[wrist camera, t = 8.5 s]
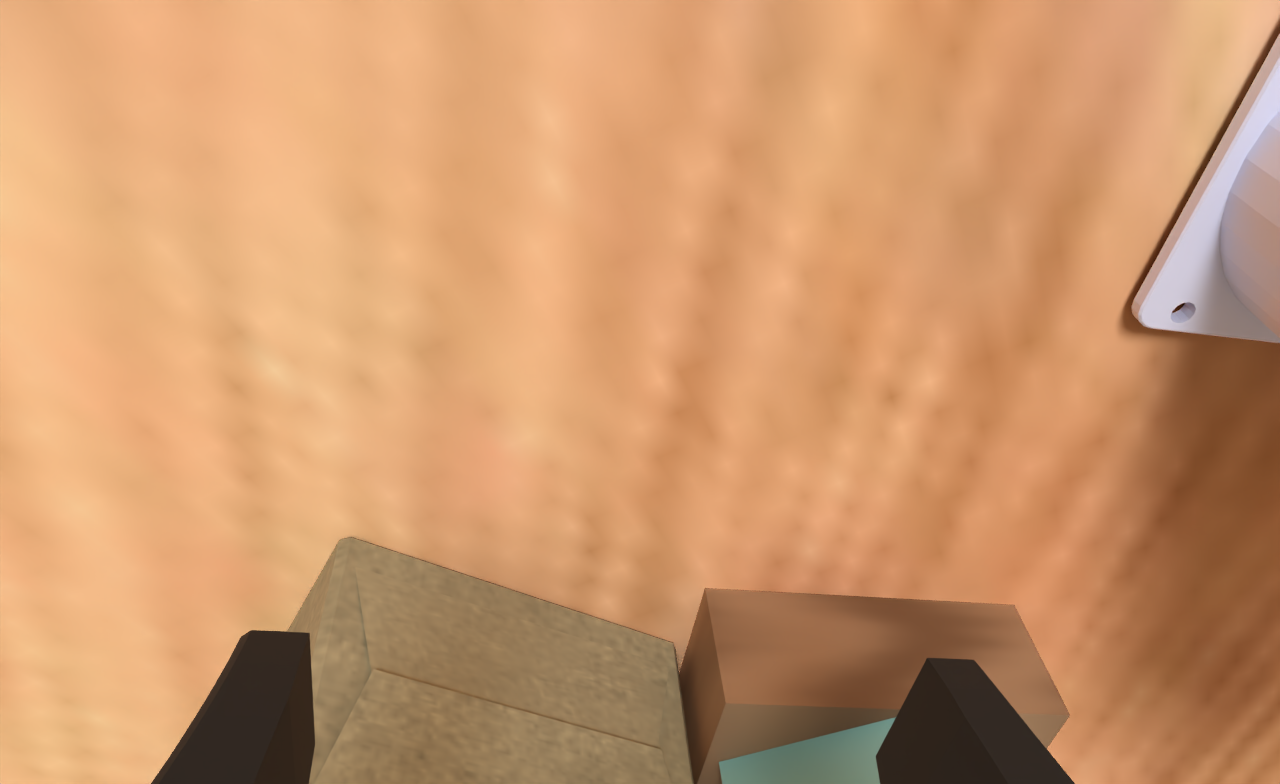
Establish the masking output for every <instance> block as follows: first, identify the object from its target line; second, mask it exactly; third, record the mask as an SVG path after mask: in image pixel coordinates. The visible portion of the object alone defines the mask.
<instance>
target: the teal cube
mask: <svg viewBox="0 0 1280 784" xmlns="http://www.w3.org/2000/svg"><path fill="white" fill-rule="evenodd" d="M895 718H896V717H895ZM895 718H891V719H887V720H883V721H879V722H875V723H871V724H867V725H863V726H859V727H855V728H851V729H847V730H843V731H839V732H836V733H832V734H828V735H824V736H820V737H816V738H812V739H808V740H804V741H800V742H796V743H792V744H788V745H784V746H780V747H776V748H772V749H768V750H764V751H760V752H756V753H752V754H748V755H745V756H741V757H737V758H733V759H729V760H725V761H721V762H719V767H720V773H721V779H722V784H880V780H879V774H878V768H877V762H876V754H877V753H878V751H879V749H880V747H881V745H882V743H883V741H884V739H885V737H886V735H887V733H888V732H889V730H890V728H891V726H892V724H893V722H894V720H895Z"/></svg>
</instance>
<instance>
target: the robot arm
mask: <svg viewBox="0 0 1280 784" xmlns="http://www.w3.org/2000/svg"><path fill="white" fill-rule="evenodd" d="M1182 303H1185V305H1184V306H1183V307H1182V308H1181V309H1180V310H1178V311H1176V312H1174V313H1172V311H1173V310H1174V309H1175V308H1176V307H1177V306H1178V305H1180V304H1182ZM1131 308H1132V314H1133V315H1134V316H1135V317H1136V319H1137V320H1138V321H1139V322H1140V323H1141V324H1142V325H1143V326H1144V327H1147V328H1150V329H1158V330H1167V331H1176V332H1185V333H1194V334H1203V335H1211V336H1220V337H1229V338H1238V339H1247V340H1255V341H1264V342H1273V343H1280V34H1279V35H1278V37H1277V39H1276V41H1275V43H1274V45H1273V46H1272V48H1271V50H1270V52H1269V54H1268V56H1267V57H1266V59H1265V61H1264V63H1263V65H1262V66H1261V68H1260V70H1259V72H1258V74H1257V76H1256V77H1255V79H1254V81H1253V83H1252V85H1251V87H1250V88H1249V90H1248V92H1247V94H1246V96H1245V98H1244V99H1243V101H1242V103H1241V105H1240V107H1239V108H1238V110H1237V112H1236V114H1235V116H1234V118H1233V119H1232V121H1231V123H1230V125H1229V127H1228V129H1227V130H1226V132H1225V134H1224V136H1223V138H1222V140H1221V141H1220V143H1219V145H1218V147H1217V149H1216V151H1215V152H1214V154H1213V156H1212V158H1211V160H1210V161H1209V163H1208V165H1207V167H1206V169H1205V171H1204V172H1203V174H1202V176H1201V178H1200V180H1199V182H1198V183H1197V185H1196V187H1195V189H1194V191H1193V193H1192V194H1191V196H1190V198H1189V200H1188V202H1187V203H1186V205H1185V207H1184V209H1183V211H1182V213H1181V214H1180V216H1179V218H1178V220H1177V222H1176V224H1175V225H1174V227H1173V229H1172V231H1171V233H1170V235H1169V236H1168V238H1167V240H1166V242H1165V244H1164V246H1163V247H1162V249H1161V251H1160V253H1159V255H1158V256H1157V258H1156V260H1155V262H1154V264H1153V266H1152V267H1151V269H1150V271H1149V273H1148V275H1147V277H1146V278H1145V280H1144V282H1143V284H1142V286H1141V288H1140V289H1139V291H1138V293H1137V295H1136V297H1135V298H1134V301H1133V304H1132V307H1131ZM314 748H315V729H314V709H313V689H312V670H311V650H310V633H305V632H281V631H256V630H251V631H249V632H248V633H246V634H245V635H243V636H242V637H241V638H240V640H239V642H238V644H237V645H236V647H235V649H234V651H233V653H232V655H231V657H230V659H229V661H228V662H227V664H226V666H225V668H224V670H223V671H222V673H221V675H220V677H219V678H218V680H217V682H216V684H215V685H214V687H213V689H212V690H211V692H210V694H209V695H208V697H207V699H206V700H205V702H204V704H203V705H202V707H201V709H200V710H199V712H198V713H197V715H196V717H195V718H194V720H193V721H192V723H191V724H190V726H189V728H188V729H187V731H186V732H185V734H184V735H183V737H182V739H181V740H180V742H179V743H178V745H177V746H176V748H175V749H174V751H173V752H172V754H171V755H170V757H169V758H168V760H167V761H166V763H165V764H164V766H163V767H162V769H161V770H160V771H159V773H158V774H157V776H156V777H155V779H154V780H153V782H152V783H151V784H309V779H310V773H311V767H312V761H313V754H314ZM876 762H877V768H878V774H879V780H880V784H1075V783H1074V782H1073V781H1072V780H1071V778H1070V777H1069V776H1068V775H1067V774H1066V772H1065V771H1064V770H1063V769H1062V767H1061V766H1060V765H1059V764H1058V762H1057V761H1056V760H1055V759H1054V758H1053V756H1052V755H1051V754H1050V753H1049V751H1048V750H1047V749H1046V748H1045V747H1044V745H1043V744H1042V743H1041V742H1040V740H1039V739H1038V738H1037V737H1036V735H1035V734H1034V733H1033V732H1032V730H1031V729H1030V728H1029V727H1028V725H1027V724H1026V723H1025V722H1024V720H1023V719H1022V718H1021V717H1020V716H1019V714H1018V713H1017V712H1016V711H1015V709H1014V708H1013V707H1012V706H1011V704H1010V703H1009V702H1008V701H1007V699H1006V698H1005V697H1004V696H1003V694H1002V693H1001V692H1000V691H999V689H998V688H997V687H996V686H995V684H994V683H993V682H992V681H991V680H990V678H989V677H988V676H987V675H986V673H985V672H984V671H983V670H982V669H981V667H980V666H979V665H978V664H977V663H976V661H975V660H971V659H947V658H927V659H926V661H925V663H924V665H923V667H922V669H921V671H920V672H919V674H918V676H917V678H916V680H915V682H914V684H913V686H912V688H911V690H910V692H909V693H908V695H907V697H906V699H905V701H904V703H903V705H902V707H901V709H900V711H899V712H898V714H897V716H896V718H895V720H894V722H893V724H892V726H891V728H890V730H889V732H888V733H887V735H886V737H885V739H884V741H883V743H882V745H881V747H880V749H879V751H878V753H877V754H876Z"/></svg>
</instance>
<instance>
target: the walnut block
mask: <svg viewBox="0 0 1280 784" xmlns="http://www.w3.org/2000/svg"><path fill="white" fill-rule="evenodd" d="M927 658H947V659H971V660H975V661H976V663H977V664H978V665H979V666H980V667H981V669H982V670H983V671H984V672H985V673H986V675H987V676H988V677H989V678H990V680H991V681H992V682H993V683H994V684H995V686H996V687H997V688H998V689H999V691H1000V692H1001V693H1002V694H1003V696H1004V697H1005V698H1006V699H1007V701H1008V702H1009V703H1010V704H1011V706H1012V707H1013V708H1014V709H1015V711H1016V712H1017V713H1018V714H1019V716H1020V717H1021V718H1022V719H1023V720H1024V722H1025V723H1026V724H1027V725H1028V727H1029V728H1030V729H1031V730H1032V732H1033V733H1034V734H1035V735H1036V737H1037V738H1038V739H1039V740H1040V742H1041V743H1042V744H1043V745H1044V747H1045V748H1046V749H1047V747H1048V746H1049V745H1050V743H1051V742H1052V740H1053V739H1054V737H1055V736H1056V735H1057V733H1058V732H1059V730H1060V729H1061V727H1062V726H1063V725H1064V723H1065V722H1066V720H1067V719H1068V717H1069V716H1070V714H1069V712H1068V710H1067V708H1066V706H1065V704H1064V702H1063V700H1062V698H1061V696H1060V694H1059V692H1058V690H1057V688H1056V687H1055V685H1054V683H1053V681H1052V679H1051V677H1050V675H1049V673H1048V671H1047V669H1046V667H1045V665H1044V663H1043V661H1042V659H1041V657H1040V655H1039V653H1038V651H1037V649H1036V647H1035V645H1034V643H1033V641H1032V639H1031V637H1030V635H1029V633H1028V631H1027V629H1026V627H1025V625H1024V623H1023V621H1022V619H1021V617H1020V615H1019V613H1018V611H1017V609H1016V607H1015V606H1014V605H1006V604H987V603H969V602H951V601H932V600H914V599H896V598H877V597H859V596H841V595H822V594H804V593H786V592H767V591H749V590H731V589H712V588H705V590H704V594H703V597H702V600H701V603H700V607H699V610H698V613H697V617H696V620H695V623H694V627H693V630H692V633H691V636H690V640H689V643H688V646H687V650H686V653H685V656H684V660H683V663H682V666H681V669H680V673H679V679H680V687H681V694H682V701H683V709H684V716H685V723H686V731H687V738H688V745H689V752H690V760H691V767H692V774H693V782H694V784H722V779H721V773H720V767H719V762H721V761H725V760H729V759H733V758H737V757H741V756H745V755H748V754H752V753H756V752H760V751H764V750H768V749H772V748H776V747H780V746H784V745H788V744H792V743H796V742H800V741H804V740H808V739H812V738H816V737H820V736H824V735H828V734H832V733H836V732H839V731H843V730H847V729H851V728H855V727H859V726H863V725H867V724H871V723H875V722H879V721H883V720H887V719H891V718H895V717H896V716H897V714H898V712H899V711H900V709H901V707H902V705H903V703H904V701H905V699H906V697H907V695H908V693H909V692H910V690H911V688H912V686H913V684H914V682H915V680H916V678H917V676H918V674H919V672H920V671H921V669H922V667H923V665H924V663H925V661H926V659H927Z"/></svg>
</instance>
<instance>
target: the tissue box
mask: <svg viewBox="0 0 1280 784" xmlns="http://www.w3.org/2000/svg"><path fill="white" fill-rule="evenodd" d="M287 632H305V633H310V650H311V670H312V689H313V709H314V729H315V748H314V754H313V761H312V767H311V773H310V779H309V784H694V782H693V774H692V767H691V760H690V752H689V745H688V738H687V731H686V723H685V716H684V709H683V701H682V694H681V687H680V679H679V672H678V665H677V658H676V650H675V647H674V644H673V643H672V642H669V641H666V640H663V639H660V638H657V637H654V636H650V635H647V634H644V633H641V632H638V631H635V630H632V629H629V628H626V627H623V626H620V625H617V624H614V623H611V622H608V621H605V620H602V619H599V618H596V617H593V616H590V615H587V614H583V613H580V612H577V611H574V610H571V609H568V608H565V607H562V606H559V605H556V604H553V603H550V602H547V601H544V600H541V599H538V598H535V597H532V596H529V595H526V594H523V593H520V592H516V591H513V590H510V589H507V588H504V587H501V586H498V585H495V584H492V583H489V582H486V581H483V580H480V579H477V578H474V577H471V576H468V575H465V574H462V573H459V572H456V571H453V570H449V569H446V568H443V567H440V566H437V565H434V564H431V563H428V562H425V561H422V560H419V559H416V558H413V557H410V556H407V555H404V554H401V553H398V552H395V551H392V550H389V549H386V548H382V547H379V546H376V545H373V544H370V543H367V542H364V541H361V540H358V539H355V538H352V537H349V538H345V539H341V540H339V542H338V544H337V545H336V547H335V549H334V551H333V552H332V554H331V556H330V558H329V559H328V561H327V563H326V565H325V566H324V568H323V570H322V572H321V573H320V575H319V577H318V579H317V580H316V582H315V584H314V586H313V587H312V589H311V591H310V593H309V594H308V596H307V598H306V600H305V601H304V603H303V605H302V607H301V608H300V610H299V612H298V614H297V615H296V617H295V619H294V621H293V622H292V624H291V626H290V628H289V629H288V631H287Z"/></svg>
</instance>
